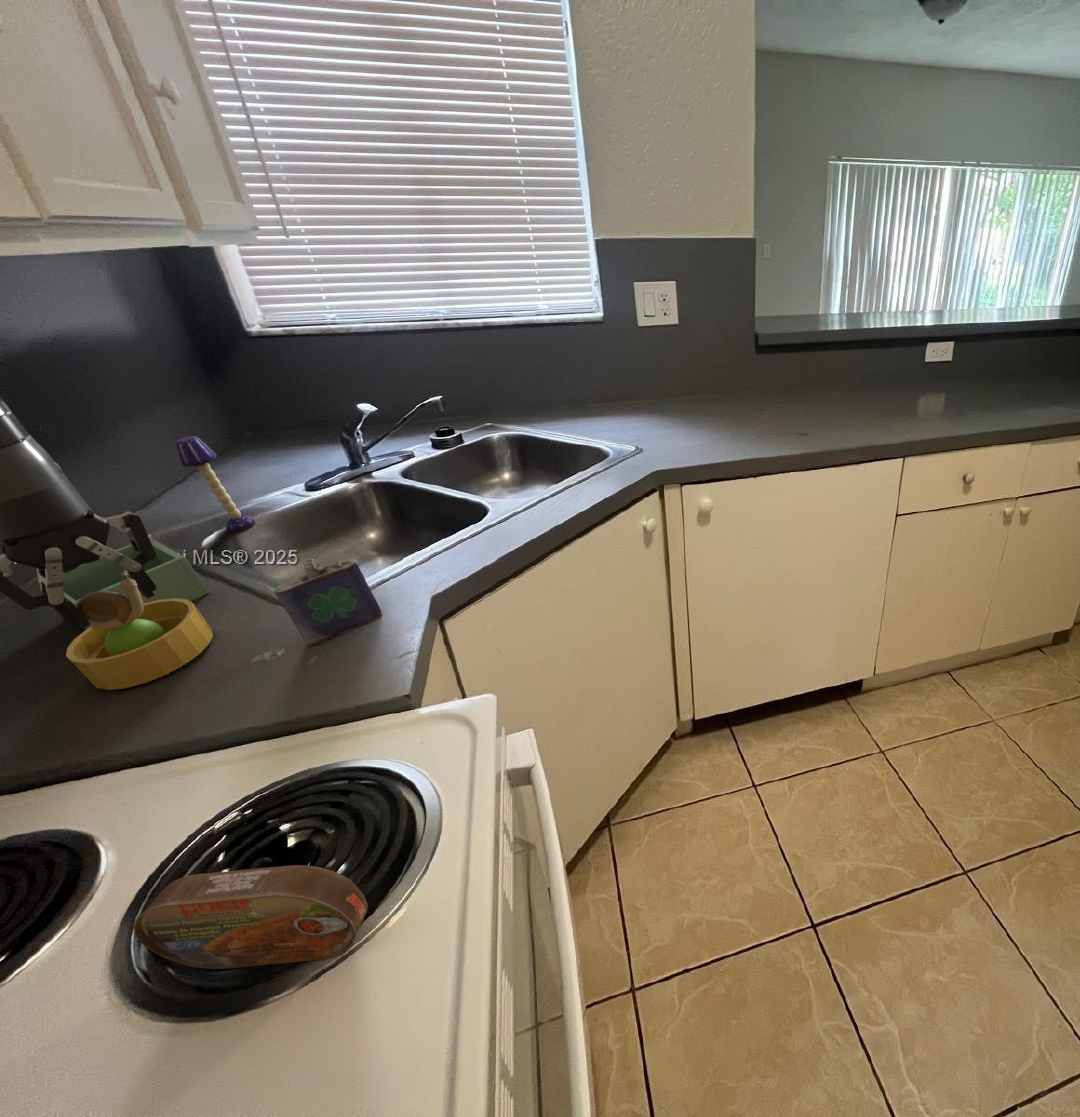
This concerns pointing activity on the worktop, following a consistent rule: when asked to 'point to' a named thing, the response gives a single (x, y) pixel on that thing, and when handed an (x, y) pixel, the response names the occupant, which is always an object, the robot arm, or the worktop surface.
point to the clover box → (328, 600)
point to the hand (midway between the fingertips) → (117, 609)
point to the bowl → (143, 647)
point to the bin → (105, 575)
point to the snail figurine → (120, 617)
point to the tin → (253, 917)
